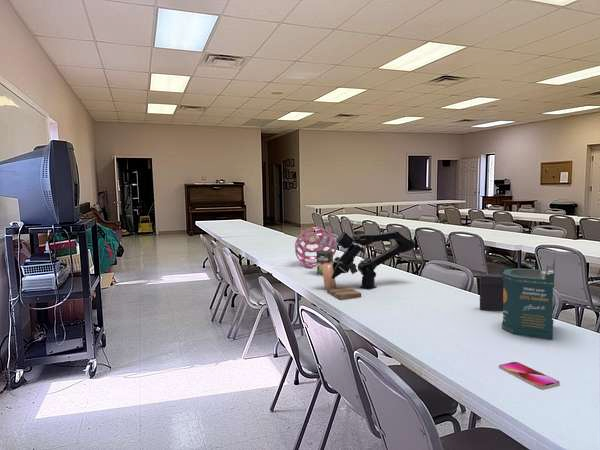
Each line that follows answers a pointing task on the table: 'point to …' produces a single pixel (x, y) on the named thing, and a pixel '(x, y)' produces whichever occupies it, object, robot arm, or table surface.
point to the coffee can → (323, 260)
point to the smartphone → (529, 375)
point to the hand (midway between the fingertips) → (331, 276)
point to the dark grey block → (491, 292)
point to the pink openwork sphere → (317, 241)
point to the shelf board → (344, 292)
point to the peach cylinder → (328, 275)
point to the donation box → (528, 302)
